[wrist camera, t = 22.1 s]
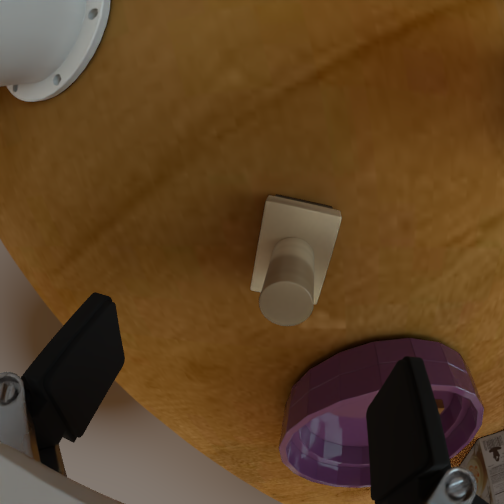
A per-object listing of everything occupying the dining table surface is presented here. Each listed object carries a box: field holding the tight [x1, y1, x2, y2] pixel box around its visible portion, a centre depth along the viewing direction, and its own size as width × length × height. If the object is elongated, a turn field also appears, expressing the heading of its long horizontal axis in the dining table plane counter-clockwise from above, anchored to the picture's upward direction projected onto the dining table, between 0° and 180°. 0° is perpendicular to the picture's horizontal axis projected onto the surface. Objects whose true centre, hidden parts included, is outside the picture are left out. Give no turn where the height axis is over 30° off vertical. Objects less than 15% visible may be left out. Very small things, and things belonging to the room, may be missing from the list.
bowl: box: [279, 338, 484, 488], centre depth 23 cm, size 18×18×6 cm
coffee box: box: [459, 431, 504, 504], centre depth 21 cm, size 9×6×16 cm
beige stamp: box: [250, 194, 342, 326], centre depth 17 cm, size 6×4×8 cm
